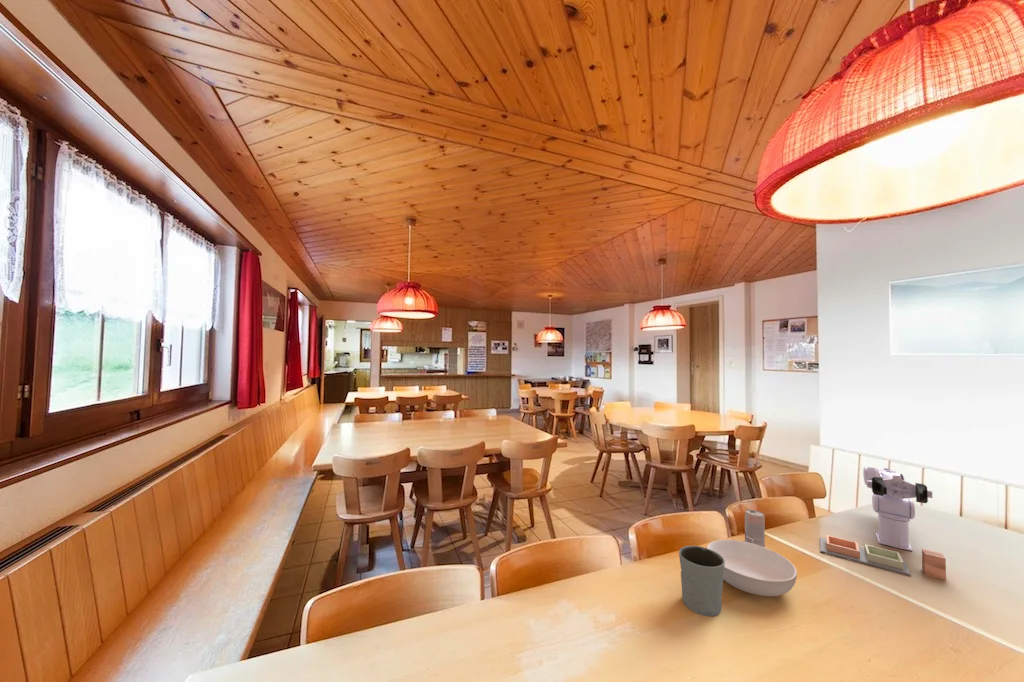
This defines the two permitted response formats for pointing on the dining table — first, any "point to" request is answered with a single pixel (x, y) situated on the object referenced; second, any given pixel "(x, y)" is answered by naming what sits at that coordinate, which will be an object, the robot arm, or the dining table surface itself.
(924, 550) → the terracotta block
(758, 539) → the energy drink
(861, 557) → the sorting board
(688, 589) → the grey cup
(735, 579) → the serving bowl
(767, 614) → the dining table surface
